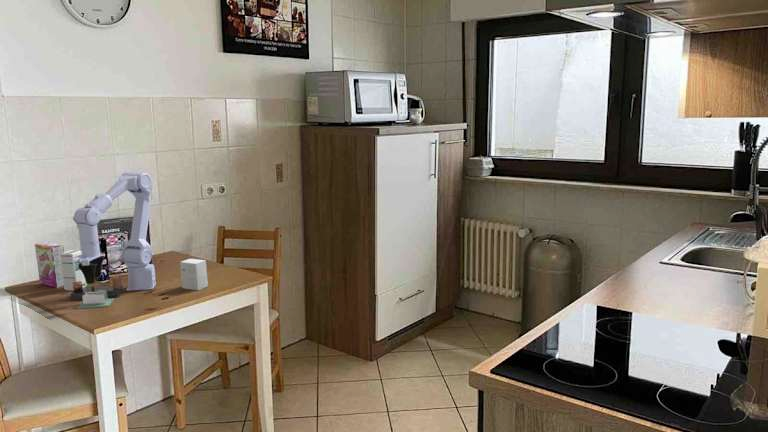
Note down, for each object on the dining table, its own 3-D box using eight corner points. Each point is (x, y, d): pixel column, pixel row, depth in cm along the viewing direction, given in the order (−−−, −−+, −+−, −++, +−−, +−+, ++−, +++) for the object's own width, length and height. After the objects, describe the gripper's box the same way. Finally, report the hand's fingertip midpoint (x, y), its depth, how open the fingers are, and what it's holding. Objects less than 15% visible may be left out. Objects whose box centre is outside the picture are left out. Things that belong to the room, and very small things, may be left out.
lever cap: (107, 300, 207) (106, 289, 206) (105, 303, 203) (103, 292, 202) (86, 301, 206) (85, 290, 205) (83, 305, 202) (82, 294, 201)
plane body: (123, 291, 219) (121, 273, 217) (118, 297, 212) (117, 278, 211) (77, 294, 216) (75, 276, 214) (71, 300, 209) (69, 281, 208)
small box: (208, 286, 223) (206, 260, 221) (198, 290, 218) (196, 263, 216) (192, 284, 226) (190, 258, 225) (181, 288, 221) (179, 261, 220)
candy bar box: (39, 284, 229) (33, 244, 226) (51, 281, 233) (46, 241, 230) (56, 288, 223) (51, 246, 220) (68, 285, 228) (64, 244, 225)
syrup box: (77, 291, 220) (73, 253, 217) (63, 290, 221) (59, 253, 218) (87, 286, 225) (83, 250, 223) (74, 285, 227) (70, 249, 224)
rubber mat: (114, 299, 209) (114, 298, 209) (108, 306, 202) (108, 305, 202) (84, 301, 207) (84, 300, 207) (77, 308, 200) (77, 307, 200)
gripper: (83, 238, 207) (87, 275, 209) (70, 247, 193) (74, 287, 195) (104, 237, 208) (108, 273, 211) (93, 246, 194) (97, 285, 197)
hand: (93, 280), depth 203 cm, fingers open, 7 cm apart
